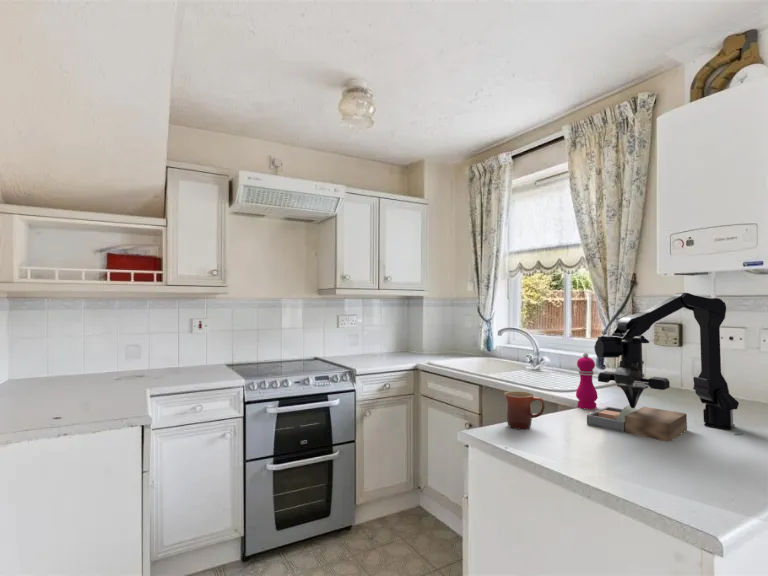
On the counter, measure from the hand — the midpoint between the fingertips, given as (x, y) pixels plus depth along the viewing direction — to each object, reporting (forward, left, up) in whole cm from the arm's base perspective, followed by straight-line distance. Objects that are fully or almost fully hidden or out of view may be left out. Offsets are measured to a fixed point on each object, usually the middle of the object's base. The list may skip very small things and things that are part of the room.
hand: (633, 407), depth 133 cm
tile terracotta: (+7, 0, -3) cm, 8 cm away
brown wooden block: (-6, 0, -6) cm, 9 cm away
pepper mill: (+20, -14, -6) cm, 26 cm away
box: (+5, 0, -6) cm, 8 cm away
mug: (+22, +25, -6) cm, 34 cm away
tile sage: (+1, 0, -3) cm, 3 cm away
